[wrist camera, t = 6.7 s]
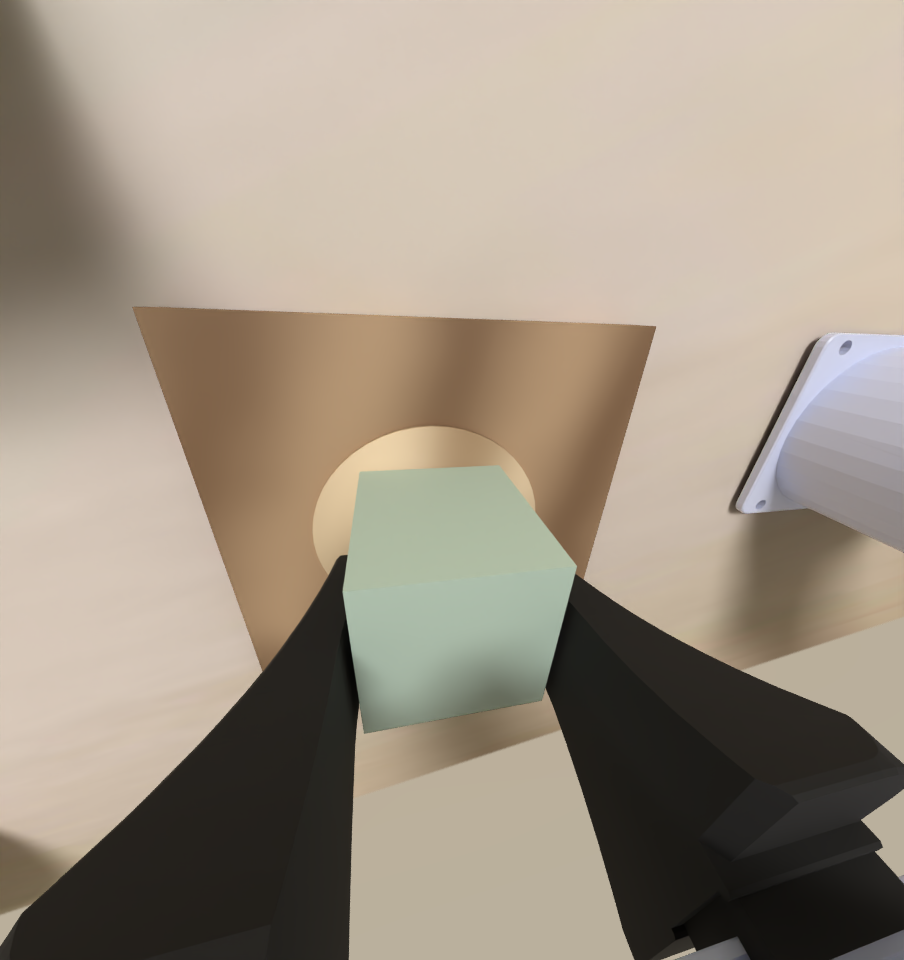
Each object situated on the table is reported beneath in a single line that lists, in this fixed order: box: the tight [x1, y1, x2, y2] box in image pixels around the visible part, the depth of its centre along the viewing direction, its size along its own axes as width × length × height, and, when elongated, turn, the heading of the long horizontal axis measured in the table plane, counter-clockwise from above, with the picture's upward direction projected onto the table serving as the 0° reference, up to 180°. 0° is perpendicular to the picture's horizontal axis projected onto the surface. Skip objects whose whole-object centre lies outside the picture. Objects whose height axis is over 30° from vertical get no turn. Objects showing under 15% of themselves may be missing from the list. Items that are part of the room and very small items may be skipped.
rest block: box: [343, 465, 577, 734], centre depth 9 cm, size 4×4×5 cm
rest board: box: [132, 307, 656, 671], centre depth 13 cm, size 14×14×1 cm
